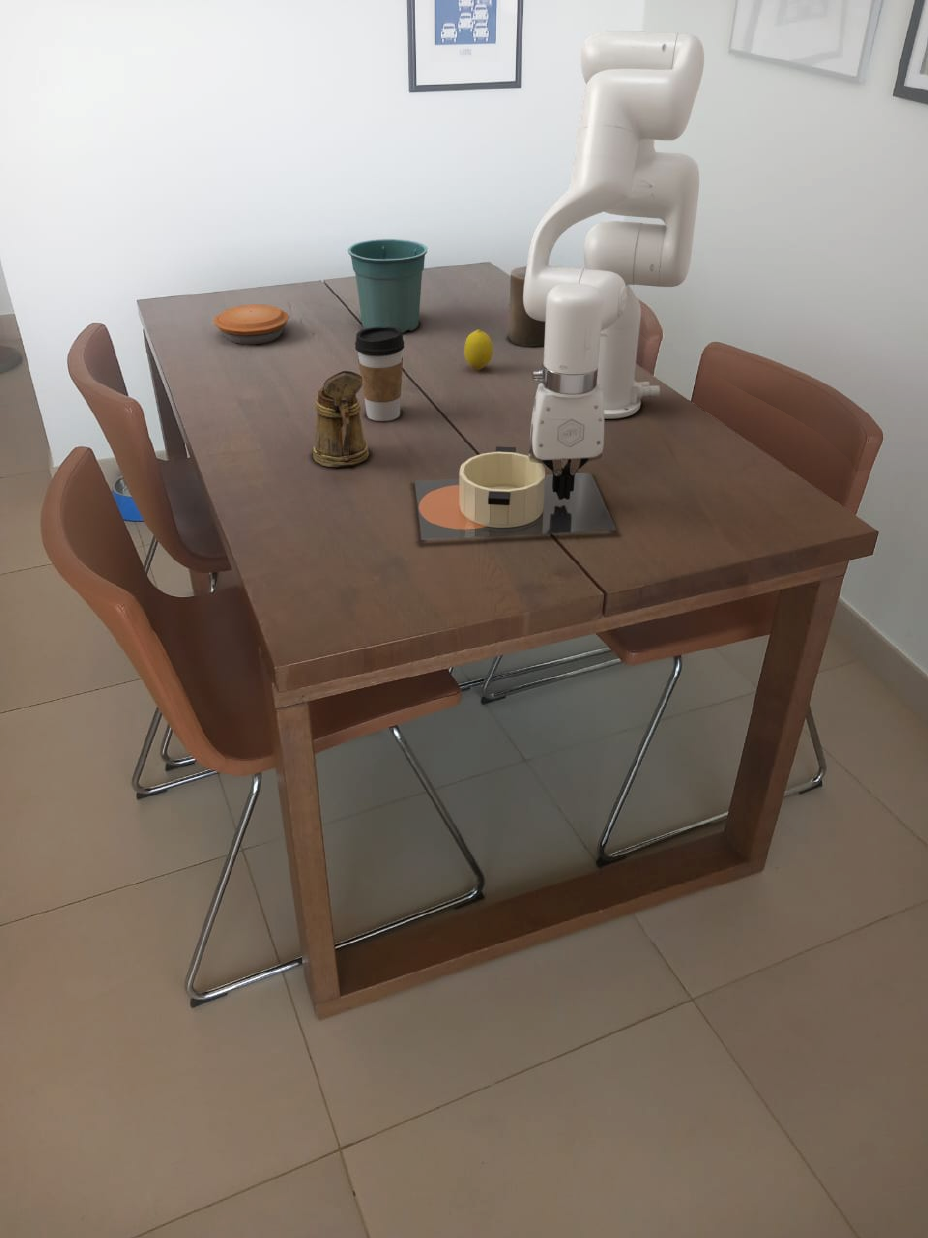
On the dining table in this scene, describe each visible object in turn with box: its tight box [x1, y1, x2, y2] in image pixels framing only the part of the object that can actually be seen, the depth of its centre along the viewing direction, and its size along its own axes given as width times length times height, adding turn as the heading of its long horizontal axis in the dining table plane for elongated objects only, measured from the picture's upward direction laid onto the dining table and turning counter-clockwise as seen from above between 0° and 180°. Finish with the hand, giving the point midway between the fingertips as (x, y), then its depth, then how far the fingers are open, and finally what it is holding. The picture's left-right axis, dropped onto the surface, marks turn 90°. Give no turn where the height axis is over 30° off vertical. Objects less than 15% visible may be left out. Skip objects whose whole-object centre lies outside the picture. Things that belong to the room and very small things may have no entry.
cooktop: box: [414, 471, 617, 541], centre depth 149 cm, size 28×18×1 cm, turn 95°
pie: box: [213, 303, 290, 345], centre depth 208 cm, size 16×16×5 cm
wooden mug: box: [312, 370, 370, 469], centre depth 157 cm, size 9×14×18 cm, turn 17°
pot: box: [458, 445, 547, 528], centre depth 146 cm, size 12×16×6 cm
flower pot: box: [347, 238, 428, 334], centre depth 210 cm, size 16×16×16 cm
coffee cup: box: [354, 327, 405, 422], centre depth 173 cm, size 8×8×15 cm
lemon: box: [463, 329, 494, 371], centre depth 192 cm, size 6×6×8 cm
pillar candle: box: [508, 265, 546, 347], centre depth 203 cm, size 10×10×15 cm
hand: (562, 495), depth 148 cm, fingers closed
